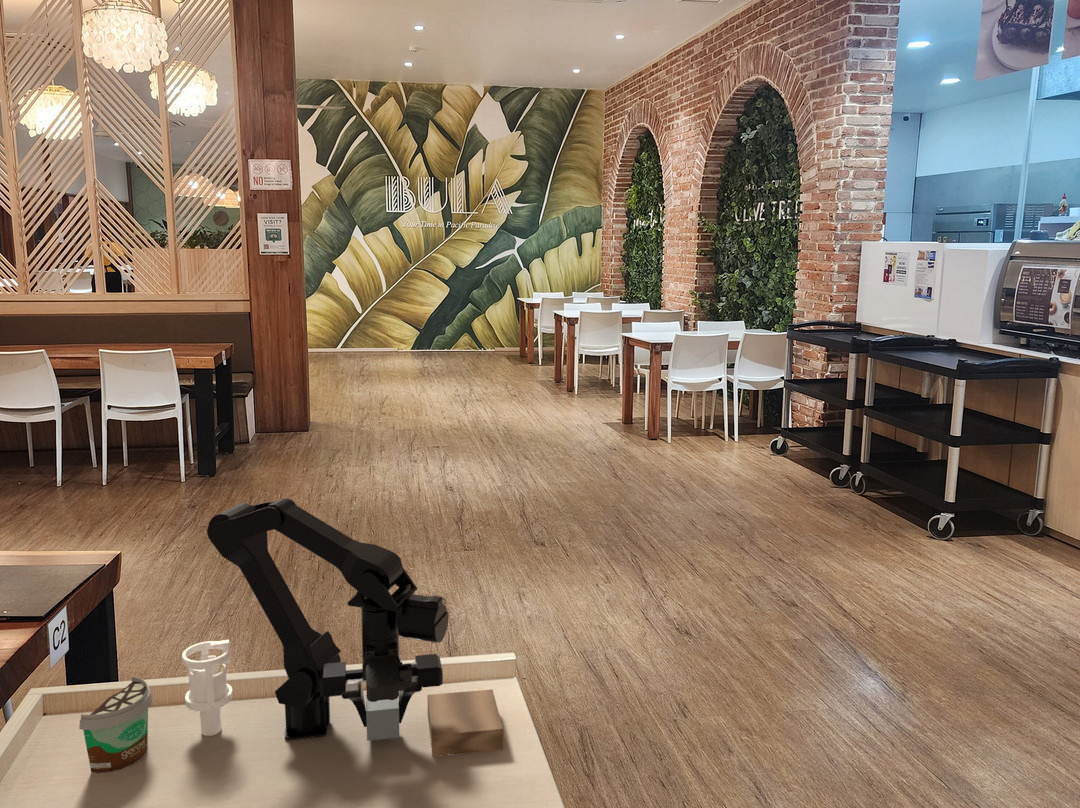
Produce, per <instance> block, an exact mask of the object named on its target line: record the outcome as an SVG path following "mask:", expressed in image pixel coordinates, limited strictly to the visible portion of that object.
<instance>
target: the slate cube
mask: <svg viewBox="0 0 1080 808" xmlns="http://www.w3.org/2000/svg"><path fill="white" fill-rule="evenodd" d="M365 708H366V722H367V727H366V741H368V742H369V741H374V740H375V741H376V740H378V741H379V740H384V739H385V740H386V739H396V738H400V735H401V733H400V723H399V697H398V698H397V699H395V700H378V701H376V702H370V701H368V699H367V694H365Z"/></svg>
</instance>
